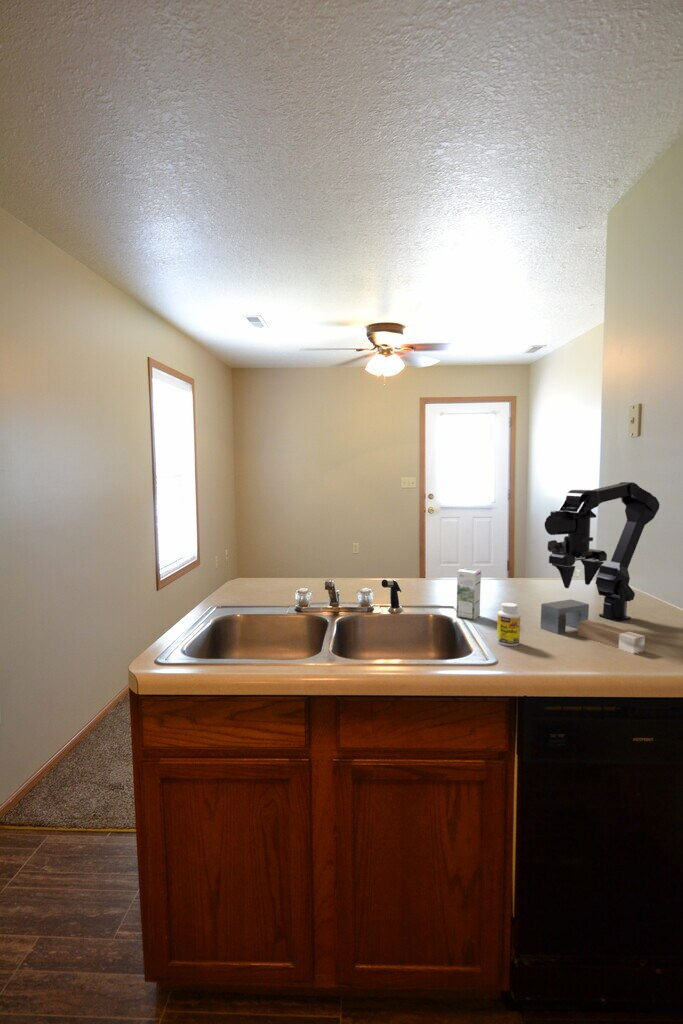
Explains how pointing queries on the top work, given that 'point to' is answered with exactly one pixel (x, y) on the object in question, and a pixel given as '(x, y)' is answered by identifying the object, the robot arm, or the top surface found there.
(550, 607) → the grey u-shaped block
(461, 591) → the syrup box
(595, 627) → the plug rod
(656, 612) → the top surface
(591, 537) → the robot arm
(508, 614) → the supplement bottle
